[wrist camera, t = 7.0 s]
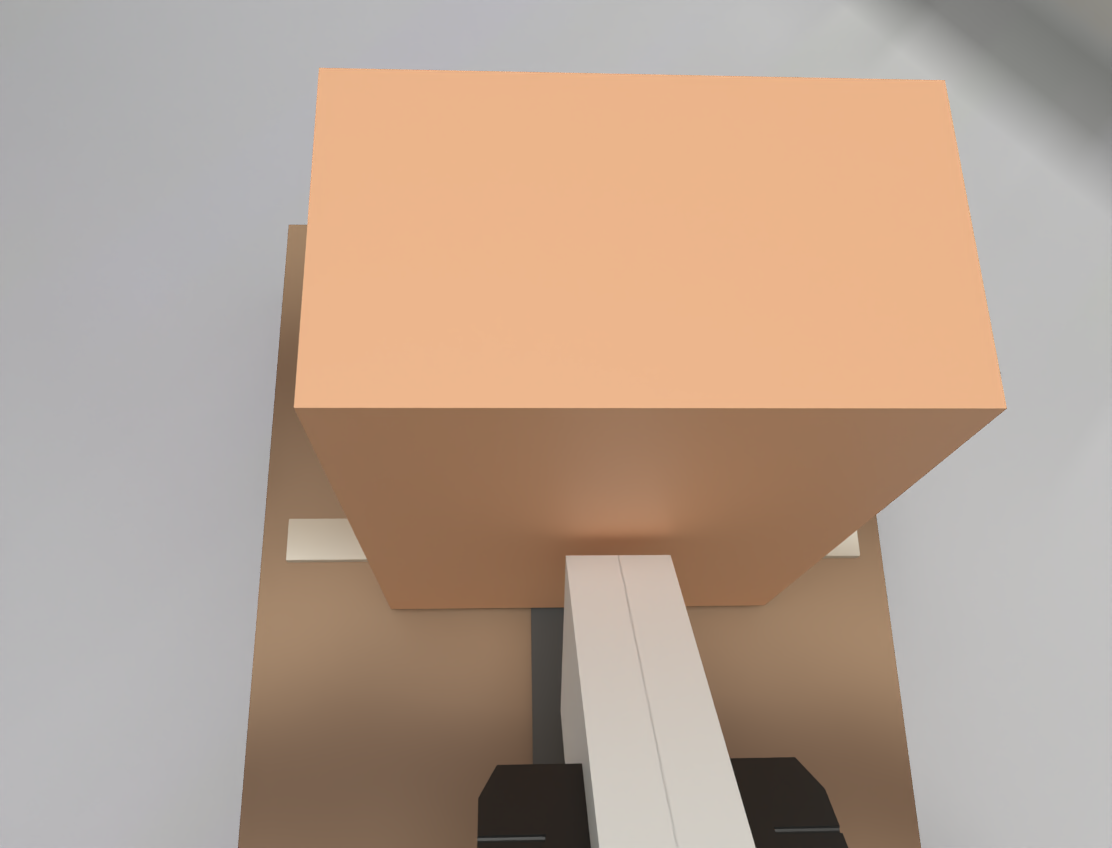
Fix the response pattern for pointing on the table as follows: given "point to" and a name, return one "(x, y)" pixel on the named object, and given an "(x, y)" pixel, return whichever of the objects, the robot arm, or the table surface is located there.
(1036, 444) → the table surface
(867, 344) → the fader knob
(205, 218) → the table surface
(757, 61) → the table surface
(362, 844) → the fader board
